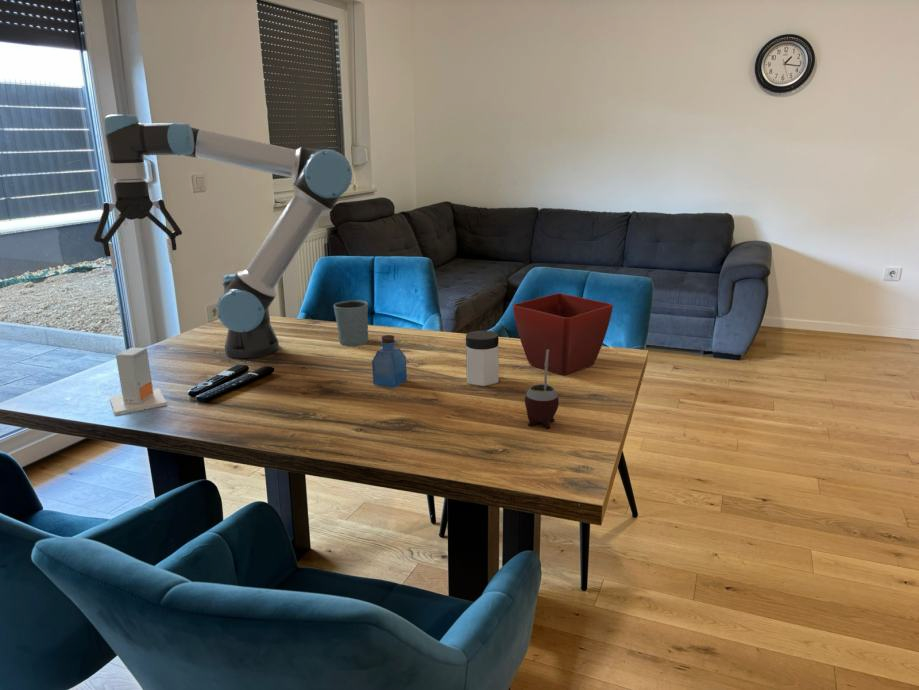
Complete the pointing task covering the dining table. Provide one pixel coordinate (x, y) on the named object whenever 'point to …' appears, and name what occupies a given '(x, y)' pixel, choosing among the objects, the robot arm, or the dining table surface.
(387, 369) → the perfume bottle
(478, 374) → the jar
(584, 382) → the dining table surface
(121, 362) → the skincare box
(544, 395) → the mate gourd
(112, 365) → the dining table surface
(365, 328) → the grey cup
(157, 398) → the coaster
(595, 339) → the plant pot
